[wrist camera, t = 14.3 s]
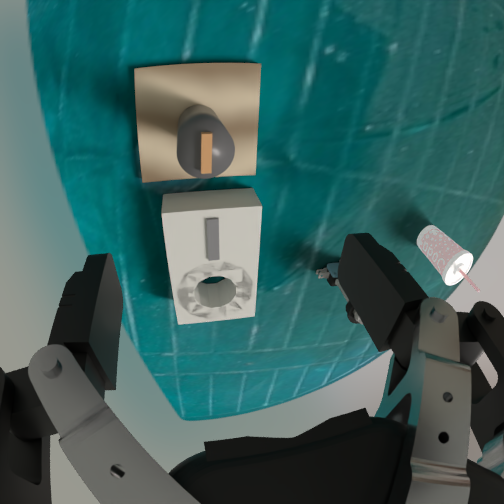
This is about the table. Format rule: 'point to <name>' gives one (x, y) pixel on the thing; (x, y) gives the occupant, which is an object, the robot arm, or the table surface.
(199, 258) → the light grey boxy piece
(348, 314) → the push button
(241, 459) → the robot arm
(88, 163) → the table surface
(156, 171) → the board
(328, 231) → the table surface
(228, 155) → the dark grey cylinder
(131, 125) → the table surface
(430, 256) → the beverage cup
